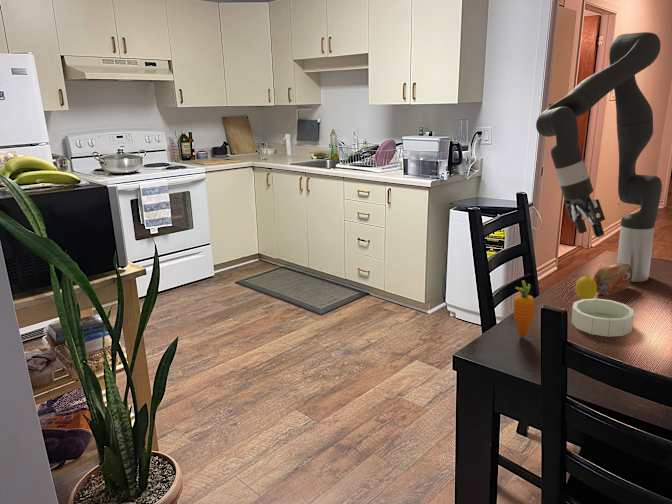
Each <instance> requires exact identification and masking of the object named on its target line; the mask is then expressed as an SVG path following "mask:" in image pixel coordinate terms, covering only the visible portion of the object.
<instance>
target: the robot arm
mask: <svg viewBox="0 0 672 504" xmlns="http://www.w3.org/2000/svg"><path fill="white" fill-rule="evenodd" d="M660 51H661V40H660V37H659V36H658V35H657V34H656V33H654V32H649V31H643V32H632V33H624V34H620V35H617V36H616V37H615V38H614V39H612V42H611V45H610V47H609V54H608V56H609V58H608V59H609V66H607V67H605V68H602V69H601V70H600V71H597V72H596V73H595V72H594V73H593V74H592V75H589V76H588V77H586V78H585V79H583V80H582V81H581V82H579V83H578V84H577V85H576V86H575V87H574V88H572V89H571V91H569V92H568V93H567V94H566V95H565V96H564V97H563V98H561V99H559V100H558V101H556V102H555V103H553V104H551V105H550V106H549V107H547V108H546V109H545V110H543V111H542V112H541V113H540V114H539V116H538V118H537V119H536V122H535V123H536V124H535V128H536V131H537V133H539V135H541V136H542V137H547V138H548V137H549V138H550V137H551V138H552V137H555V141H556V145H554V146H552V147H551V149H550V154H551V155H550V156H551V159H552V162H553V166H554V168H555V173H556V177H557V182H558V185H559V187H560V190H561V193H562V196H563V199H564V200H563V202H564V205H565V210H566V212H567V216H568V219H570V220H572V221H573V222H574V223H575V227H576V230H577V233H578V234H584V233H586V232H588V230H587V226H586V223H585V221H584V219H586V220H588V222H590V225H591V227H592V230H593V234H594V237H596V238H600V237H602V236H604V235H605V232H604V229H603V226H602V222H603V221H605V220H606V218H605V215H604V212H603V209H602V206H601V203H600V200H599V198H595V199H592V198H591V196H590V195H591V194H593V192H594V187H593V184H592V180H591V178H590V175H589V171H588V168H587V166H586V164H585V161H584V159H583V156H582V153H581V150H580V147H579V126H578V125H579V124H578V117H581V116H583V115H584V114H586V113H587V112H588V111H590V109H592V108H593V107H594V106H596V105H597V104H598V102H599V101H601V99H603V98H605V96H607V95H608V94H609V93H610V92H612V91H613V90H614V99H615V100H614V101H615V102H614V103H615V109H616V112H615V113H616V117H615V118H616V134H617V145H618V177H617V181H618V182H617V194H618V197H619V200H620V201H621V203H624V204H628V205H629V204H630V205H635V206H636V205H637V206H640V210H639V211H637V212H635V213H629V214H625V215H623V216H622V217H621V219H620V220H621V221H620V230H619V239H618V240H619V241H618V249H617V259H616V263H623V264H628V265H629V266H630V267H631V269H632V278H631V282H633V283H634V282H636V283H637V282H638V283H641V282H645V281H648V279H649V277H650V270H651V261H652V255H653V254H652V253H653V249H652V248H653V243H654V235H655V227H656V226H655V225H656V220H657V217H658V213H659V207H660V202H661V195H662V190H663V188H662V187H663V185H662V182H663V181H662V180H661V178H660V177H659V176H656V175H647V174H646V175H645V174H637V173H636V164H637V160H638V158H639V157H640V155H641V153H642V152H643V151H644V149H645V148H646V146H647V145H648V144H649V143H650V141H651V138H652V137H653V135H654V113H653V109H652V107H651V105H650V103H649V101H648V100H647V98H646V96H645V95H644V93H643V92H642V90H641V89H640V88H639V86H638V83H637V79H636V75H637V74H638V73H641V72H642V71H643V70H645V69H646V68H648V67H650V66H651V65H652V64H653V63H654V62H655V61H656V59H657V58H658V57H659V54H660ZM583 218H584V219H583Z"/></svg>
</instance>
